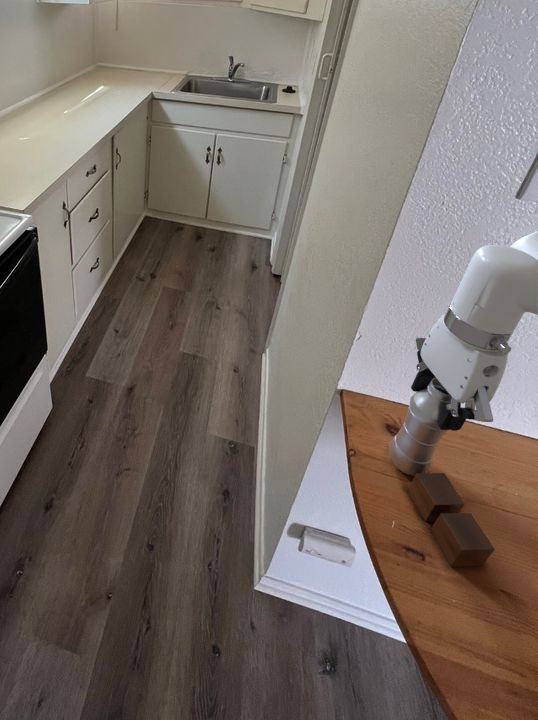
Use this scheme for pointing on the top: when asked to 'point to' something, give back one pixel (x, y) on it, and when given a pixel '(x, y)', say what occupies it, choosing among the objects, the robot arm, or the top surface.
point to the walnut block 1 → (434, 495)
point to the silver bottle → (420, 430)
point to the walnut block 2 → (461, 539)
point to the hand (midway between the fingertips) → (434, 407)
